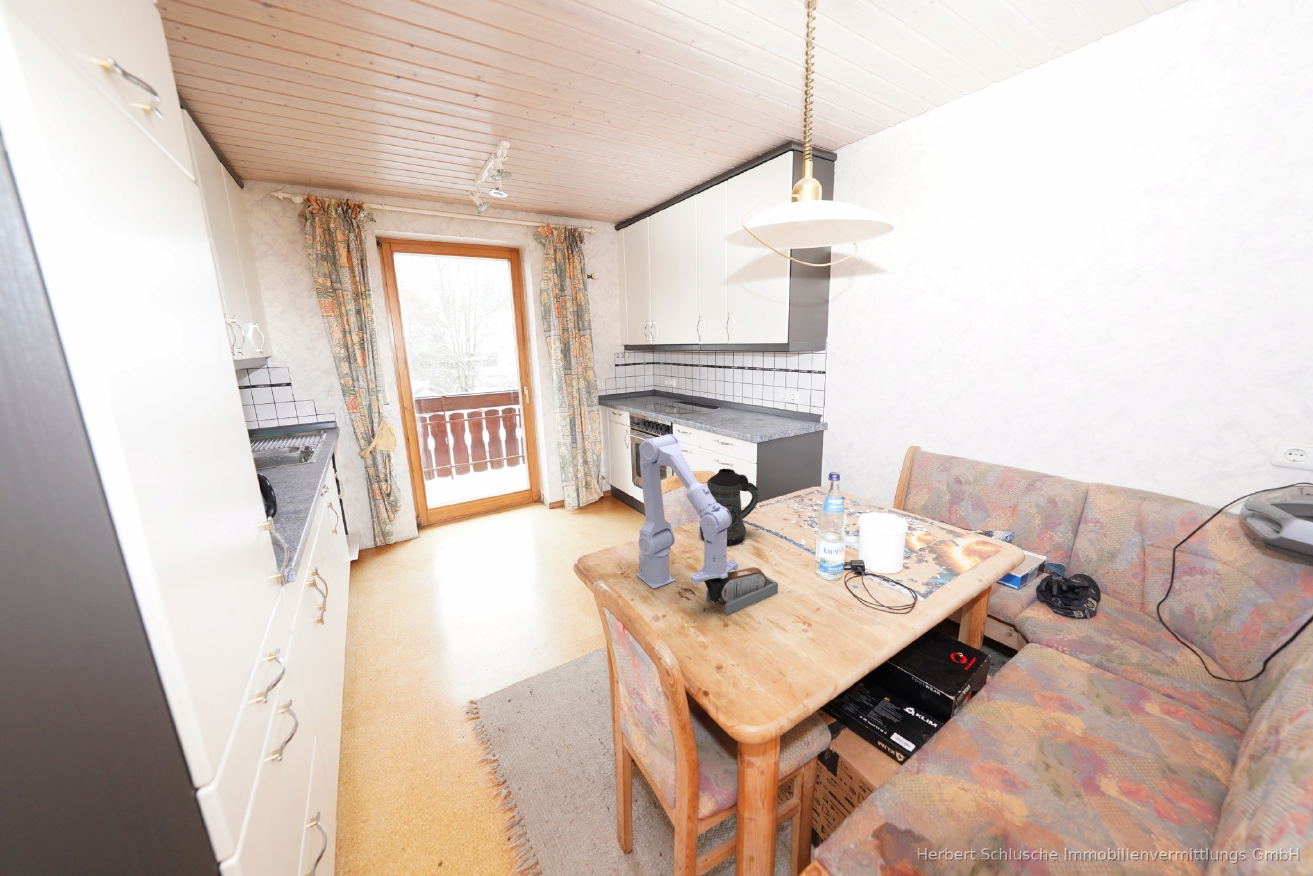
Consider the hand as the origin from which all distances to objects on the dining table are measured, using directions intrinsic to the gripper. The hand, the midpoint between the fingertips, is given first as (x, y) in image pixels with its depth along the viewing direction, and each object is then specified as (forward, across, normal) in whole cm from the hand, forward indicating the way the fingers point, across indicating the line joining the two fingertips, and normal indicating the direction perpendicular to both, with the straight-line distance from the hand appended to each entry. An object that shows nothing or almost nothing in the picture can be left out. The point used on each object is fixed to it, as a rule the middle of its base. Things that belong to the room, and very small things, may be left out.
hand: (714, 600), depth 121 cm
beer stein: (+2, +32, +32) cm, 46 cm away
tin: (+2, +9, -1) cm, 9 cm away
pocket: (+2, +10, 0) cm, 10 cm away
